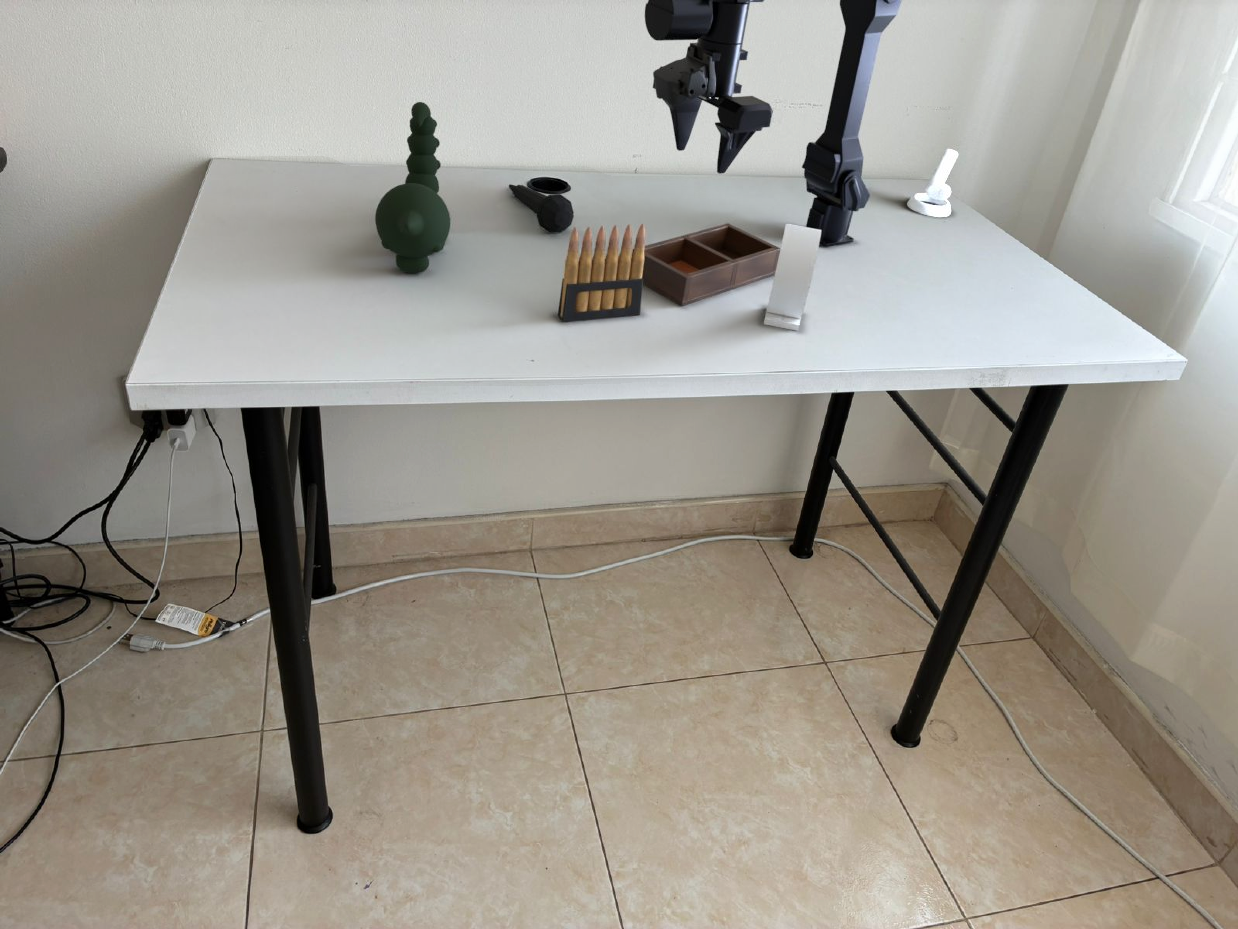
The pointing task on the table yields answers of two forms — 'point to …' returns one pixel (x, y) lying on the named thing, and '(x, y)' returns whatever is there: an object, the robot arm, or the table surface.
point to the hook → (936, 190)
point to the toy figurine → (415, 201)
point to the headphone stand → (792, 276)
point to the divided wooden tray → (707, 263)
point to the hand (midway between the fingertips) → (700, 161)
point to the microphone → (546, 208)
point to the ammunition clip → (602, 277)
